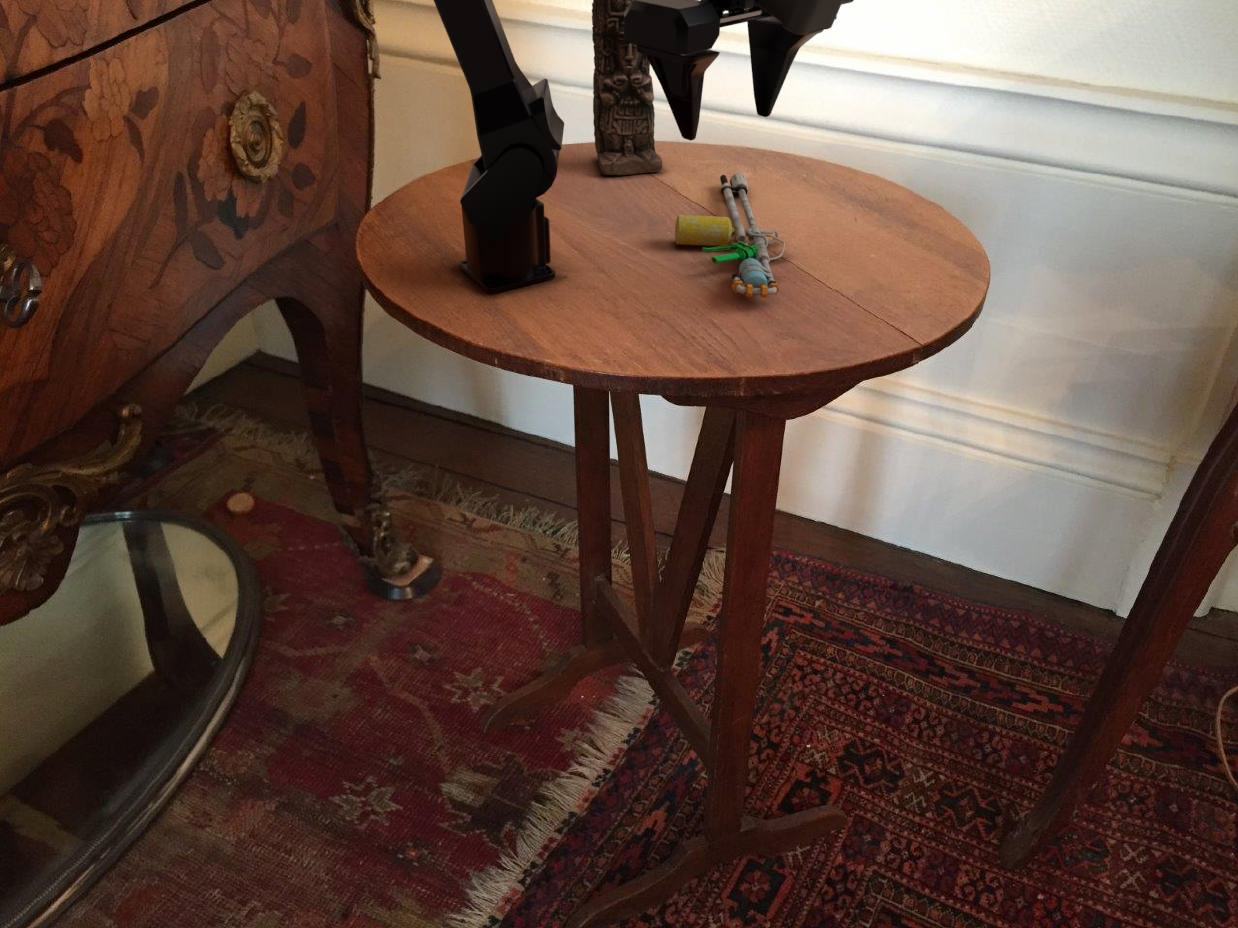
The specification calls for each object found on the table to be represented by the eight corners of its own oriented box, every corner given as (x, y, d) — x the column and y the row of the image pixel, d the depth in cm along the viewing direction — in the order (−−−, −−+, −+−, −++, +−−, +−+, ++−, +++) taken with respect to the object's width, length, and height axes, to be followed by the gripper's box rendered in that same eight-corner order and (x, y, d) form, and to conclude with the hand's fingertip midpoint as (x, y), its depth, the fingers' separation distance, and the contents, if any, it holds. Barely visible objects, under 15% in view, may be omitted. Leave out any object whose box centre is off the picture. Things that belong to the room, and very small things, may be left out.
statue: (602, 178, 104) (601, -26, 92) (588, 157, 110) (586, -38, 98) (663, 173, 106) (669, -29, 94) (646, 153, 111) (650, -40, 99)
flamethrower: (682, 305, 78) (804, 311, 79) (686, 275, 77) (809, 281, 77) (665, 187, 102) (759, 192, 103) (668, 162, 101) (762, 167, 101)
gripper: (748, -74, 58) (728, 180, 67) (915, -96, 69) (878, 126, 78) (619, -91, 64) (617, 143, 74) (790, -109, 75) (769, 98, 84)
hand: (727, 127), depth 77 cm, fingers open, 9 cm apart
